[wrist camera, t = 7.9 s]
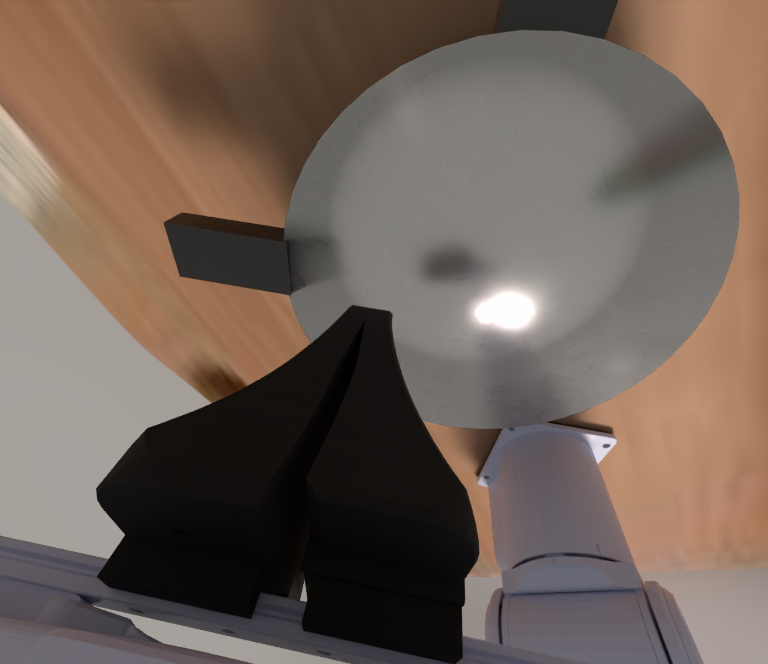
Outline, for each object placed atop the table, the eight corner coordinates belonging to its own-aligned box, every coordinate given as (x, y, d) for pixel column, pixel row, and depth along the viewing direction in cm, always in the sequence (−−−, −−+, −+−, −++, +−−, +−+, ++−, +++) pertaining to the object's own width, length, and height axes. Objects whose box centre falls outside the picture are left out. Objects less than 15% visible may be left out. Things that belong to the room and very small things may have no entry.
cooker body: (562, 370, 23) (585, 433, 19) (326, 330, 24) (302, 382, 20) (810, -61, 11) (1009, -131, 7) (322, -107, 12) (260, -191, 8)
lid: (587, 437, 19) (594, 457, 18) (224, 369, 20) (212, 384, 19) (869, 69, 9) (918, 69, 8) (121, -15, 10) (88, -23, 9)
